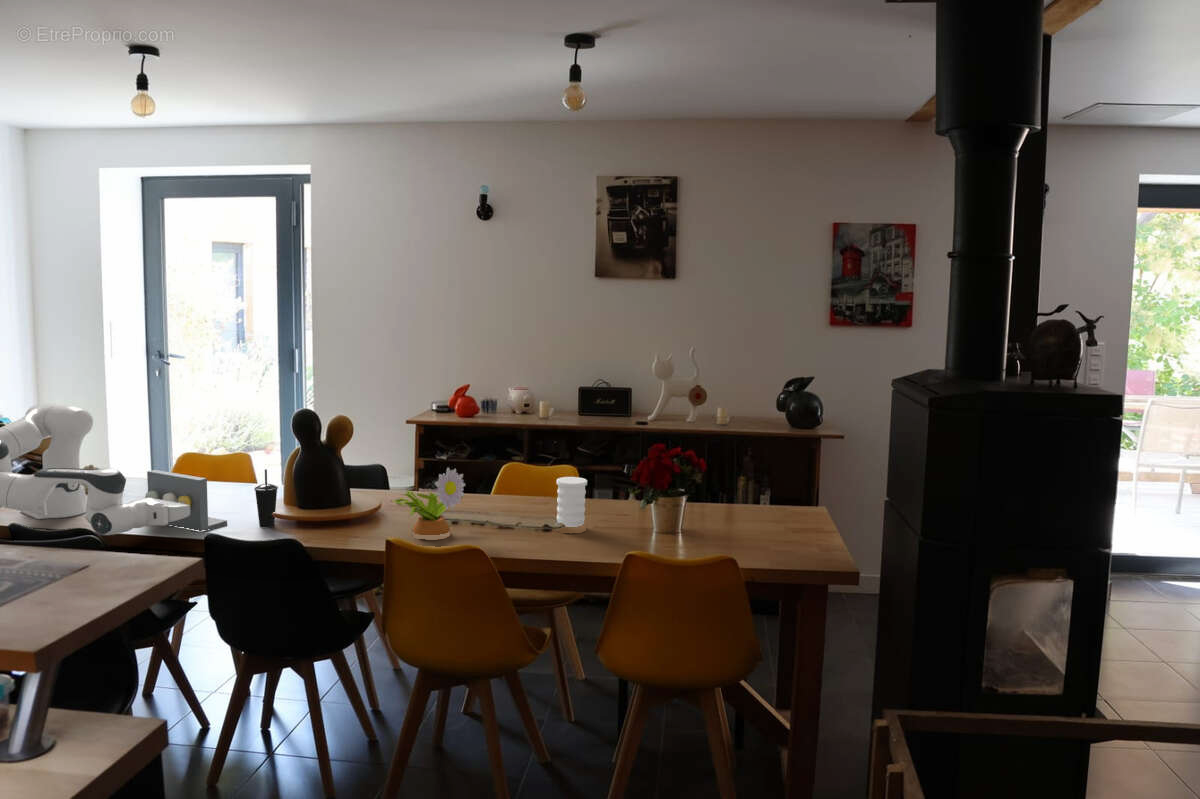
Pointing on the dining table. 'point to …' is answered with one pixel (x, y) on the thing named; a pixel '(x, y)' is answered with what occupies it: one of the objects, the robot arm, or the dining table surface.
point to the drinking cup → (266, 503)
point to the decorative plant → (430, 515)
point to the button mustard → (185, 500)
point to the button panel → (181, 487)
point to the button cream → (170, 497)
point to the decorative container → (571, 501)
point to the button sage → (152, 495)
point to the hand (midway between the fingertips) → (181, 503)
